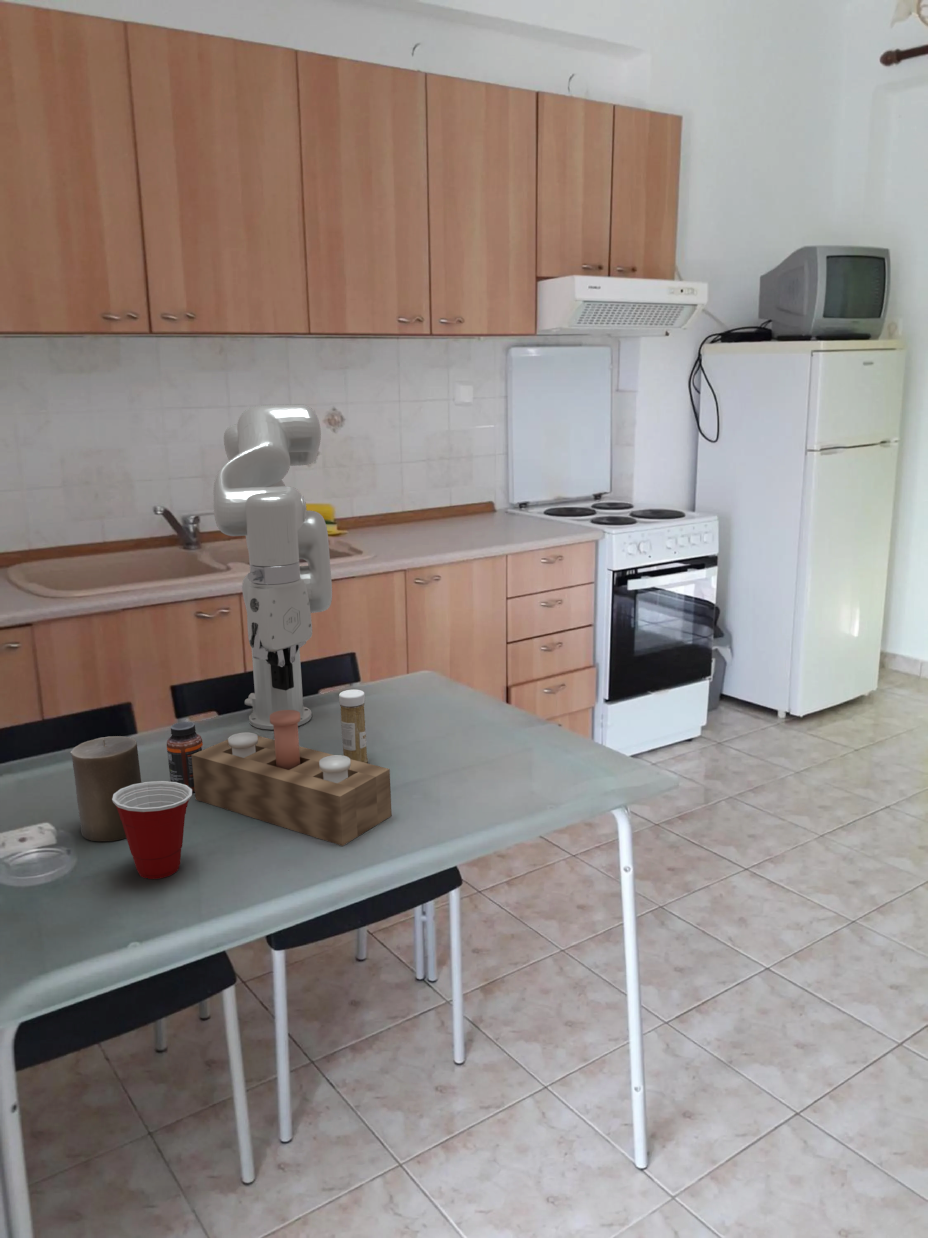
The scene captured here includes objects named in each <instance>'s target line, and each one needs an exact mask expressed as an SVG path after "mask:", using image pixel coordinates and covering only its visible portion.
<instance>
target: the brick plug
mask: <svg viewBox="0 0 928 1238" xmlns="http://www.w3.org/2000/svg"><path fill="white" fill-rule="evenodd" d="M300 720H301V719H300V712H298V711H295V710H280V711H276V712H273V713H272V714H270V723H271V724H272V725H273V726H274V730H273V740H275V753H276V767H279V768H283V769H287V770H290V769H292V768H294V767H296V766H298V765H300V752H299V746H300V739H299V738H300V737H299V726H298V722H300Z"/></svg>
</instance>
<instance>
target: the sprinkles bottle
mask: <svg viewBox="0 0 928 1238" xmlns="http://www.w3.org/2000/svg"><path fill="white" fill-rule="evenodd" d="M338 701H339V702H338V703H339V706H340V728H341V742H342V743H341V744H342V749H343V750H342V752H343V753H342V755H343V756H347V757H349V758H350V759H352V760H356V761H360V762H364V763H368V761H369V760H368V750H367V749H368V748H367V744H368V743H367V731H366V729H367V728H366V720H365V718H366V717H365V702H366V696H365V691H363V690H360V689H347V690H342V691H341V692H340V693H339V695H338Z"/></svg>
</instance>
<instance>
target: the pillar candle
mask: <svg viewBox="0 0 928 1238" xmlns="http://www.w3.org/2000/svg"><path fill="white" fill-rule="evenodd" d="M137 742H138V741H137V740H136V739H134V738H133V737H129V736H121V735H119V736H118V735H117V736H116V735H115V736H114V735H113V736H105V737H98V738H94V739H91V740H87V741H84V742H81V743H79V744H78V745H76V746H75V747H73V748H72V749H71V750H70V755H71V759H72V767H73V776H74V784H75V793H76V801H77V809H78V816H79V823H80V832H81V835H82V837H83V838H85V839H86V840H89V841H92V842H93V841H94V842H113V841H114V842H115V841H119V840H124V839H127V838H126V834H125V831H124V827H123V824H122V821H121V819H120V815H119V813H118V810H117V807H116V805H115V804H114V803H113V801H112V798H113V794H114V793H116V792H117V791H119V790H120V789H122V788H125V787H127V786H130V785H133V784H139V783H143V782H142V778H141V777H142V776H141V769H140V760H139V759H140V758H139V751H138V743H137Z"/></svg>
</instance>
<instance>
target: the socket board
mask: <svg viewBox="0 0 928 1238" xmlns="http://www.w3.org/2000/svg"><path fill="white" fill-rule="evenodd" d="M257 736H258V743H257V744H256V745H255V749H256V752H255V753H253V754H251V755H249V756H247V757H244V758H242V757H239V756H235V755H232V747H230V746H229V744H228V739H226V740H223V741H221V742H218V743H216V744H213V745H212V746H209V747H207V748H205V749H204V748H203V750H202V751H199V752H197V753H195V754H192V755H191V756H192V767H193V777H194V788H195V791H194V797H195V801H197V802H198V801H199V802H203V803H204V804H208V805H211V806H213V807H214V806H215V807H218V808H222V809H224V810H227V811H231V812H234V813H236V814H240V815H243V816H246V817H249V818H253V819H256V820H259V821H262V822H265V823H269V824H271V825H276V826H278V827H281V828H285V829H288V830H290V831H294V832H297V833H300V834H303V835H307V836H310V837H313V838H317V839H320V840H322V841H326V842H329V843H332V844H336V845H338V846H341V847H343V846H345V845H347V844H349V843H350V842H351V841H353V840H355V839H356V838H358V837H360V836H361V835H363V834H364V833H366V832H368V831H370V830H371V829H373V828H374V827H376V826H378V825H379V824H381V823H382V822H384V821H386V820H387V819H388V818H389V819H390V817H392V794H391V793H392V791H391V770H390V768H386V767H383V766H379V765H375V764H372V763H368V762H367V763H364V762H360V761H356V760H352V759H350V764H351V767H350V768H349V769H348V778H346V779H344V780H343V781H341V782H339V783H334V782H331V781H327V780H324V779H323V771H321V770H320V767H319V761H320V760H321V759H322V758H324V757H327V756H332V755H333V754H331V753H327V752H324V751H319V750H316V749H312V748H308V747H304V746H300V745H299V752H300V765H298V766H296V767H294V768H292V769H290V770H287V769H283V768H279V767H276V753H275V740H274V738H272V739H271V738H269V737H268V738H267V737H264V736H262V735H257Z"/></svg>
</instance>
